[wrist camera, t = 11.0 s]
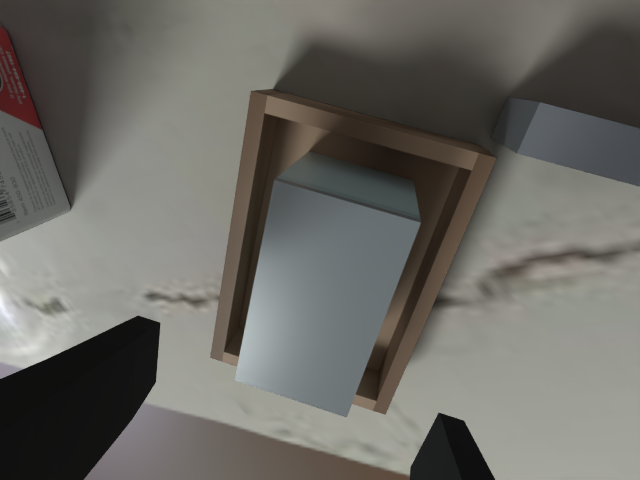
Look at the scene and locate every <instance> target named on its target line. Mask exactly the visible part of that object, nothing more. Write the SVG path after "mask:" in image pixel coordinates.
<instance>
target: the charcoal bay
mask: <svg viewBox="0 0 640 480" xmlns="http://www.w3.org/2000/svg"><path fill="white" fill-rule="evenodd" d="M491 138H493V139H495V140H496V141H498V142H499V143H501V144H503V145H504V146H506V147H508V148H509V149H511V150H512V151H514V152H516V153H518V154H522V155H525V156H529V157H533V158H536V159H540V160H544V161H547V162H551V163H555V164H558V165H562V166H566V167H570V168H573V169H577V170H581V171H584V172H588V173H592V174H595V175H599V176H603V177H606V178H610V179H614V180H617V181H621V182H625V183H629V184H632V185H636V186H640V128H637V127H633V126H629V125H625V124H621V123H618V122H614V121H610V120H606V119H602V118H599V117H595V116H591V115H587V114H583V113H579V112H576V111H572V110H568V109H564V108H560V107H556V106H553V105H549V104H545V103H541V102H536V101H529V100H523V99H517V98H511V97H508V98H507V100H506V102H505V105H504V107H503V110H502V112H501V114H500V117H499V119H498V122H497V124H496V126H495V129H494V131H493V134H492V136H491Z"/></svg>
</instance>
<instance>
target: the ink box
mask: <svg viewBox="0 0 640 480" xmlns="http://www.w3.org/2000/svg"><path fill="white" fill-rule="evenodd" d="M69 210H70V204H69V202H68V199H67V196H66V193H65V191H64V188H63V185H62V182H61V180H60V177H59V174H58V172H57V169H56V166H55V163H54V160H53V158H52V155H51V152H50V149H49V146H48V144H47V141H46V138H45V136H44V133H43V130H42V127H41V124H40V122H39V119H38V116H37V113H36V110H35V108H34V105H33V102H32V99H31V97H30V94H29V91H28V88H27V86H26V83H25V80H24V77H23V74H22V72H21V69H20V66H19V63H18V61H17V58H16V55H15V52H14V50H13V47H12V44H11V41H10V39H9V36H8V33H7V31H6V30H5V28H3V27H2V26H0V241H3V240H5V239H8V238H10V237H12V236H14V235H17V234H19V233H21V232H24V231H26V230H29V229H31V228H33V227H36V226H38V225H40V224H43V223H45V222H47V221H50V220H52V219H54V218H56V217H58V216H60V215H63V214H65V213H67V212H69Z"/></svg>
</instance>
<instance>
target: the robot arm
mask: <svg viewBox="0 0 640 480" xmlns="http://www.w3.org/2000/svg"><path fill="white" fill-rule="evenodd" d="M159 334H160V322H156V321H153V320H150V319H147V318H144V317H141V316H136V317H134V318H132V319H130V320H128V321H126V322H124V323H121V324H119V325H117V326H115V327H113V328H111V329H109V330H107V331H105V332H103V333H101V334H99V335H97V336H95V337H93V338H91V339H89V340H87V341H84V342H82V343H80V344H78V345H76V346H74V347H72V348H70V349H68V350H65V351H63V352H61V353H59V354H57V355H55V356H53V357H51V358H48V359H46V360H44V361H42V362H39V363H37V364H35V365H32V366H30V367H28V368H25V369H23V370H21V371H18V372H16V373H14V374H11V375H9V376H7V377H4V378H2V379H0V480H84V478H85V477H86V476H87V475H88V473H89V472H90V471H91V470H92V469H93V467H94V466H95V465H96V464H97V462H98V461H99V460H100V459H101V458H102V456H103V455H104V454H105V452H106V451H107V450H108V449H109V448H110V446H111V445H112V444H113V443H114V441H115V440H116V439H117V438H118V436H119V435H120V434H121V433H122V431H123V430H124V429H125V428H126V426H127V425H128V424H129V422H130V421H131V420H132V419H133V417H134V416H135V414H136V413H137V411H138V409H139V408H140V406H141V405H142V403H143V402H144V400H145V399H146V397H147V395H148V394H149V392H150V391H151V389H152V387H153V386H154V384H155V382H156V372H157V359H158V347H159ZM410 480H495V479H494V477H493V475H492V473H491V471H490V469H489V467H488V465H487V463H486V462H485V460H484V458H483V456H482V454H481V452H480V450H479V448H478V446H477V444H476V443H475V441H474V439H473V437H472V435H471V433H470V431H469V429H468V427H467V426H466V424H465V422H464V421H463V420H460V419H457V418H454V417H451V416H448V415H444V414H441V413H438V415H437V417H436V419H435V421H434V423H433V425H432V427H431V429H430V431H429V433H428V435H427V437H426V439H425V441H424V443H423V444H422V446H421V448H420V450H419V452H418V454H417V456H416V458H415V460H414V462H413V464H412V466H411V470H410Z"/></svg>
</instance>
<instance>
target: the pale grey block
mask: <svg viewBox="0 0 640 480" xmlns="http://www.w3.org/2000/svg"><path fill="white" fill-rule="evenodd" d="M420 224H421V220H420V214H419V209H418V203H417V198H416V192H415V186H414V181H413V180H410V179H406V178H402V177H399V176H395V175H392V174H388V173H385V172H381V171H378V170H374V169H371V168H367V167H364V166H360V165H357V164H353V163H350V162H346V161H343V160H339V159H336V158H332V157H329V156H325V155H322V154H318V153H315V152H311V151H308V152H307V153H306V154H305V155H303V156H302V157H301V158H300V159H299V160H297V161H296V162H295V163H294V164H293V165H291V166H290V167H289V168H288V169H287V170H285V171H284V172H283V173H282V174H281V175H279V176H278V177H277V178H276V179H275V180H274V183H273V188H272V193H271V198H270V203H269V208H268V214H267V219H266V224H265V229H264V234H263V239H262V244H261V249H260V254H259V259H258V264H257V269H256V274H255V279H254V284H253V289H252V295H251V300H250V305H249V310H248V315H247V320H246V325H245V330H244V335H243V340H242V345H241V350H240V355H239V360H238V365H237V371H236V376H235V381H238V382H241V383H244V384H247V385H250V386H253V387H256V388H259V389H262V390H265V391H268V392H271V393H274V394H277V395H280V396H283V397H286V398H289V399H292V400H296V401H299V402H302V403H305V404H308V405H311V406H314V407H317V408H320V409H323V410H326V411H329V412H332V413H335V414H338V415H341V416H344V417H347V415H348V413H349V410H350V407H351V405H352V402H353V400H354V397H355V394H356V392H357V389H358V386H359V384H360V381H361V379H362V376H363V373H364V371H365V368H366V366H367V363H368V360H369V358H370V355H371V352H372V350H373V347H374V345H375V342H376V339H377V337H378V334H379V331H380V329H381V326H382V324H383V321H384V318H385V316H386V313H387V311H388V308H389V305H390V303H391V300H392V297H393V295H394V292H395V290H396V287H397V284H398V282H399V279H400V277H401V274H402V271H403V269H404V266H405V263H406V261H407V258H408V256H409V253H410V250H411V248H412V245H413V242H414V240H415V237H416V235H417V232H418V229H419V227H420Z"/></svg>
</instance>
